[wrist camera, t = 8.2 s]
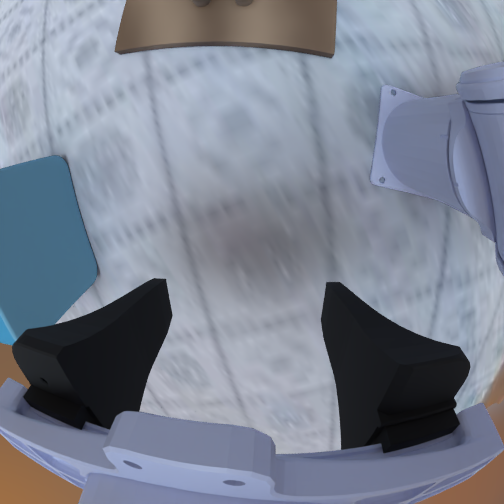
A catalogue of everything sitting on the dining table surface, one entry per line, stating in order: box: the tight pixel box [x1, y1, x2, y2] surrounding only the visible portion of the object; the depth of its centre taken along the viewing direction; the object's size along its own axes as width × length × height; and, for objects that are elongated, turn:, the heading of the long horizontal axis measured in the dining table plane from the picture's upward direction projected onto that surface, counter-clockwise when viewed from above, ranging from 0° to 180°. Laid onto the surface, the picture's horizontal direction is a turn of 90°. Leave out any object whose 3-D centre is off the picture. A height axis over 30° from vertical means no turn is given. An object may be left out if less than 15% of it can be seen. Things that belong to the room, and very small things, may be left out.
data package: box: [0, 155, 97, 345], centre depth 16 cm, size 12×4×12 cm, turn 10°
